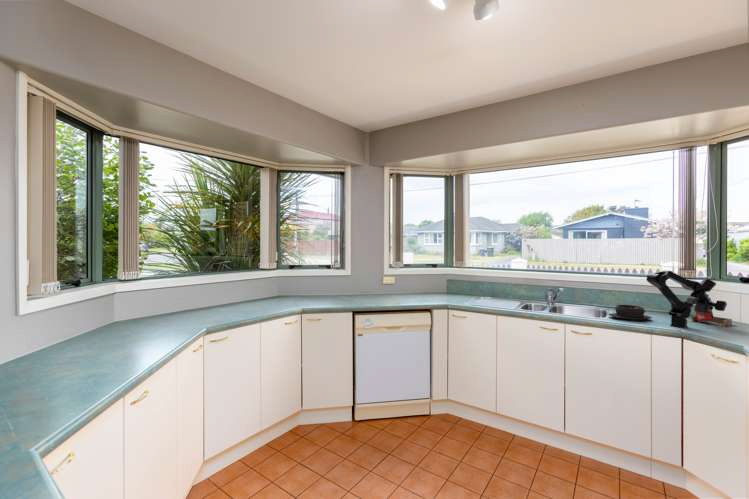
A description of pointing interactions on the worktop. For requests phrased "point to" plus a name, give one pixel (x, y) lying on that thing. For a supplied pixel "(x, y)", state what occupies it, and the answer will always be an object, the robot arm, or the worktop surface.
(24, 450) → the worktop surface
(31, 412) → the worktop surface
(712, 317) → the canned food
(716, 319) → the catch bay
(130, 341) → the worktop surface
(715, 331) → the worktop surface
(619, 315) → the casserole
